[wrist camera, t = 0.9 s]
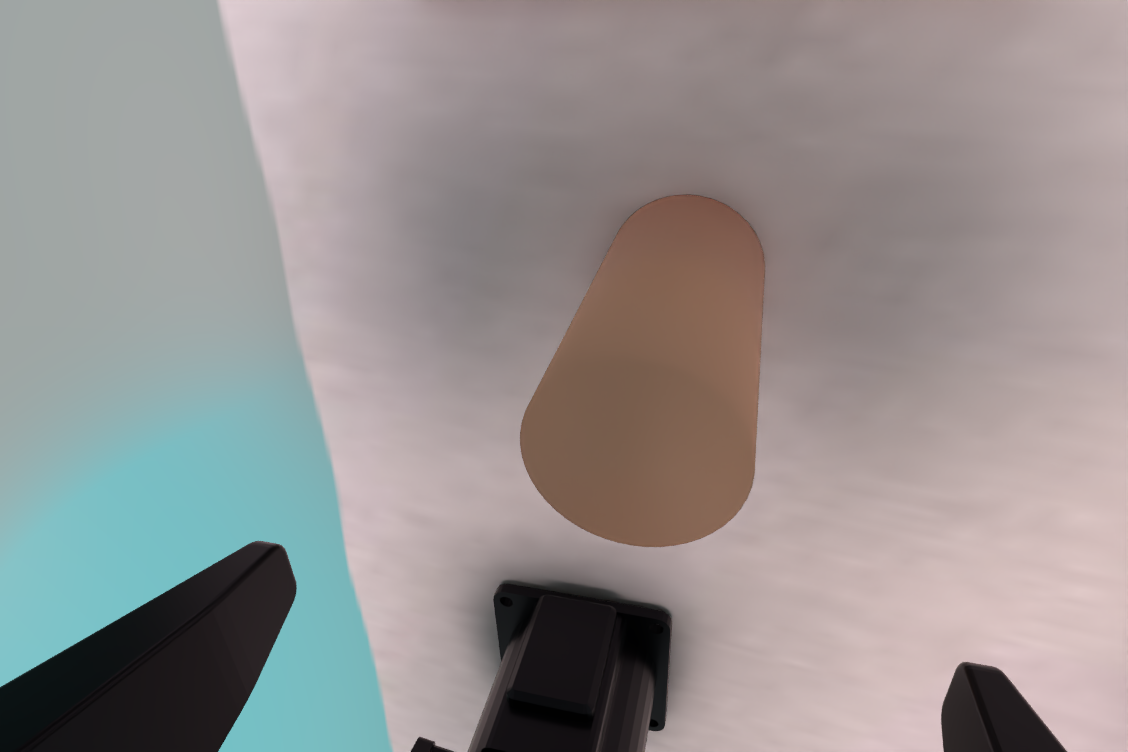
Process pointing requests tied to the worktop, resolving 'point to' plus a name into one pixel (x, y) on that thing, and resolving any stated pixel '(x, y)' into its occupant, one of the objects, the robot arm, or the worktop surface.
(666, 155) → the worktop surface
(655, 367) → the terracotta pin
